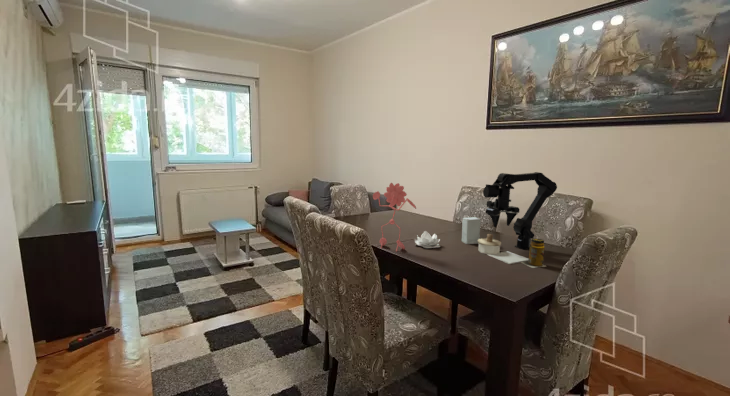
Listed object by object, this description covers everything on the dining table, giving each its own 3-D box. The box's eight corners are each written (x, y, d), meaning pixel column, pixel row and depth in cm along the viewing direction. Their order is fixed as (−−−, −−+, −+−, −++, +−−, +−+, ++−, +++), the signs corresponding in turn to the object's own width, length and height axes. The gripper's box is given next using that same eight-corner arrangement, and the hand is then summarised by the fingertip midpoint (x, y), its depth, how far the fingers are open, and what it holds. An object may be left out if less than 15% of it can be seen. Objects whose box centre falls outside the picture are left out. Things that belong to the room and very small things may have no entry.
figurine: (410, 256, 164) (413, 185, 159) (366, 247, 178) (367, 182, 173) (422, 249, 177) (425, 183, 172) (380, 241, 191) (382, 180, 186)
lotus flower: (441, 244, 186) (442, 229, 185) (439, 252, 172) (440, 236, 170) (415, 242, 190) (416, 227, 189) (412, 249, 176) (412, 233, 174)
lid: (489, 238, 180) (490, 231, 179) (506, 244, 170) (507, 236, 169) (472, 241, 175) (473, 232, 175) (489, 247, 165) (490, 238, 164)
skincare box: (474, 242, 192) (475, 216, 190) (479, 244, 186) (481, 218, 184) (460, 242, 190) (462, 217, 188) (466, 245, 184) (467, 219, 182)
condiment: (547, 266, 153) (549, 241, 151) (532, 268, 150) (534, 242, 149) (535, 261, 160) (537, 237, 158) (520, 262, 157) (522, 238, 156)
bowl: (488, 248, 180) (489, 239, 179) (503, 253, 171) (504, 244, 170) (474, 250, 176) (474, 241, 175) (488, 256, 166) (489, 246, 166)
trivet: (507, 252, 173) (507, 251, 173) (530, 260, 161) (530, 259, 161) (487, 255, 167) (487, 254, 167) (509, 264, 155) (509, 263, 155)
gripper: (504, 194, 186) (502, 221, 188) (478, 196, 178) (477, 224, 181) (521, 197, 176) (518, 226, 178) (494, 199, 168) (492, 229, 171)
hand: (501, 226), depth 177 cm, fingers open, 9 cm apart
